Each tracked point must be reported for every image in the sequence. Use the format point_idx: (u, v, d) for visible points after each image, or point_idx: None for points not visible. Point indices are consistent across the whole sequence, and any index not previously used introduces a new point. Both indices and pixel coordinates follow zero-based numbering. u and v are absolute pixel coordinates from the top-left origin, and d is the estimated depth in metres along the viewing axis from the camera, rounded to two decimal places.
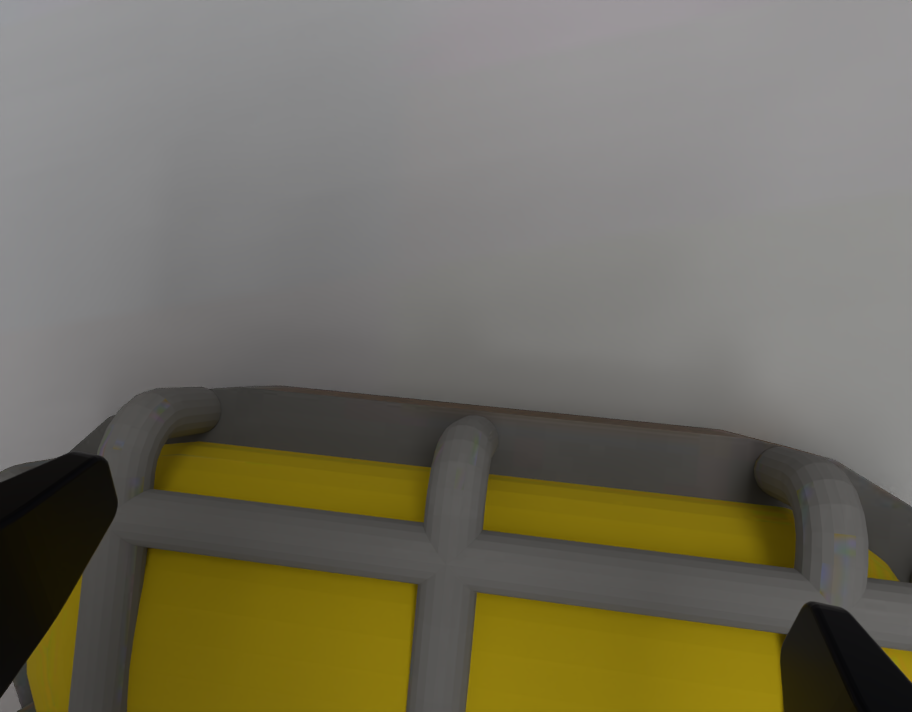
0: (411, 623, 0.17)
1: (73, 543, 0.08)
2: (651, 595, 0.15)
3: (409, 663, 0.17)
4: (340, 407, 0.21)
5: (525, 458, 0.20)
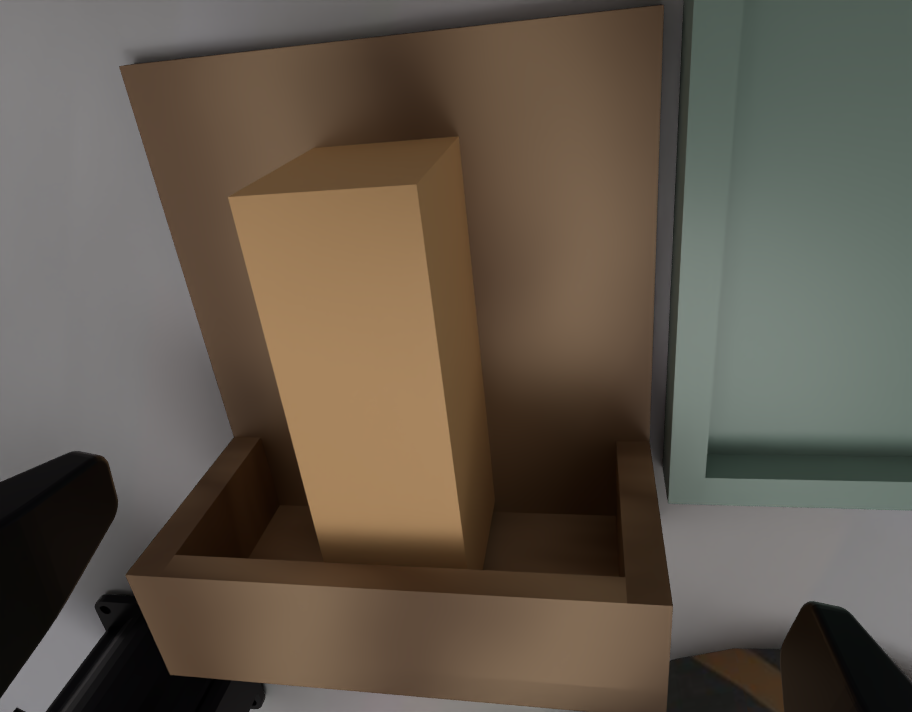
0: None
1: (73, 543, 0.08)
2: None
3: None
4: None
5: None
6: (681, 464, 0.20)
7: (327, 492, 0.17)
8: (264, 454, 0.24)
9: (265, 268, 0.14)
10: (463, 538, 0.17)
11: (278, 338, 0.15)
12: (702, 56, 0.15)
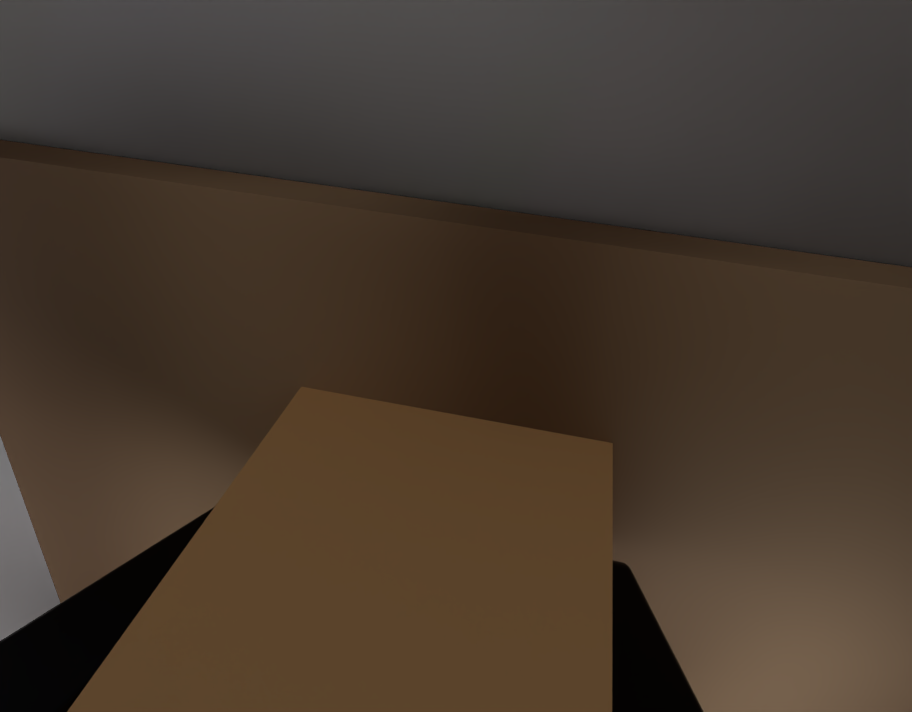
0: None
1: None
2: None
3: None
4: None
5: None
6: None
7: None
8: None
9: None
10: None
11: None
12: None
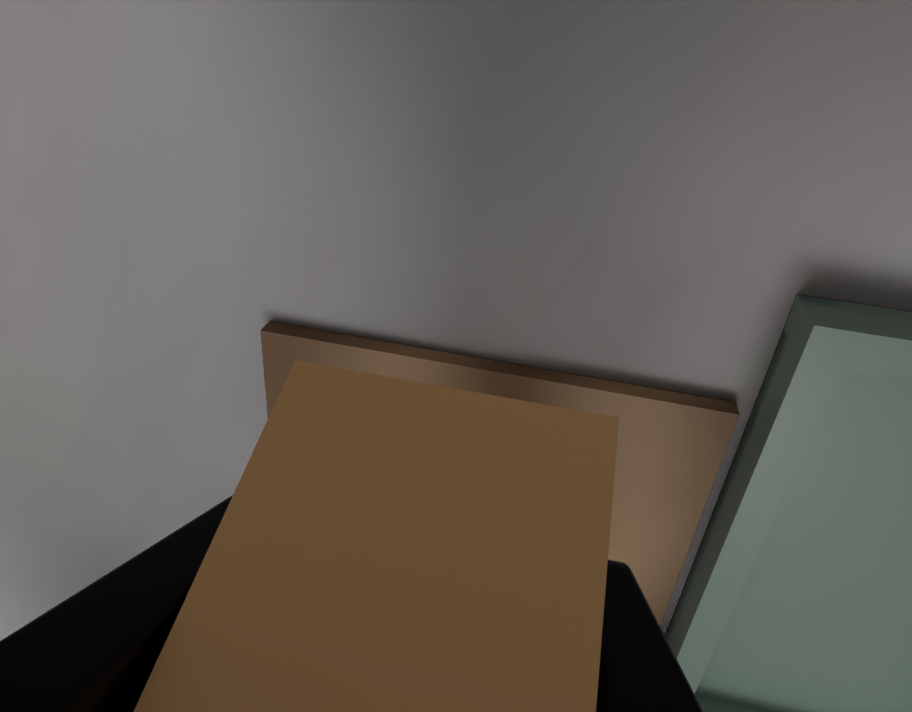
0: None
1: None
2: None
3: None
4: None
5: None
6: None
7: None
8: None
9: None
10: None
11: None
12: (762, 474, 0.18)
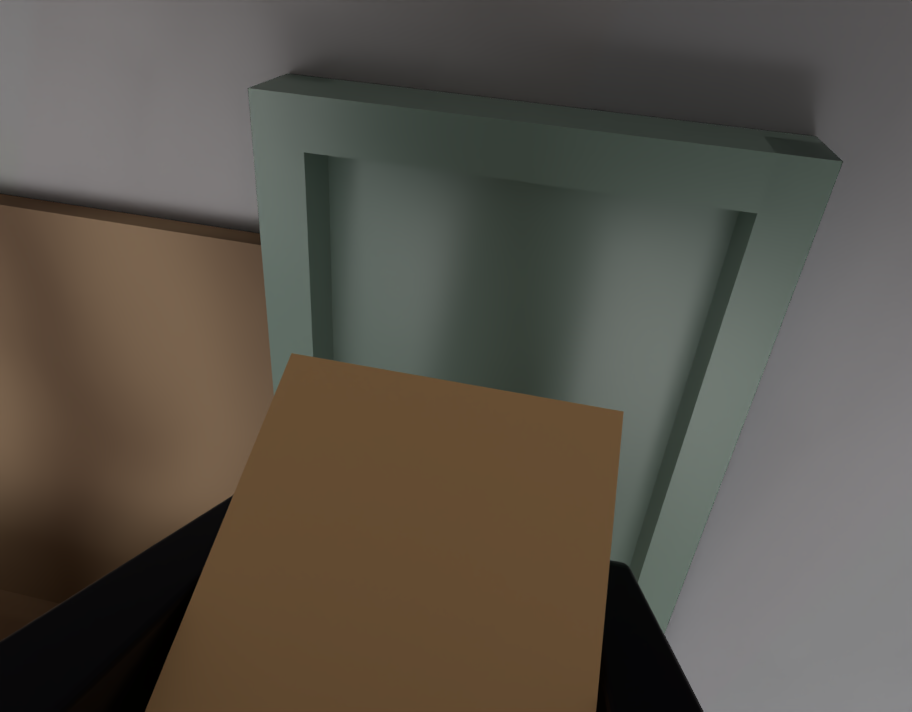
0: None
1: None
2: None
3: None
4: None
5: None
6: None
7: None
8: None
9: None
10: None
11: None
12: (277, 316, 0.14)
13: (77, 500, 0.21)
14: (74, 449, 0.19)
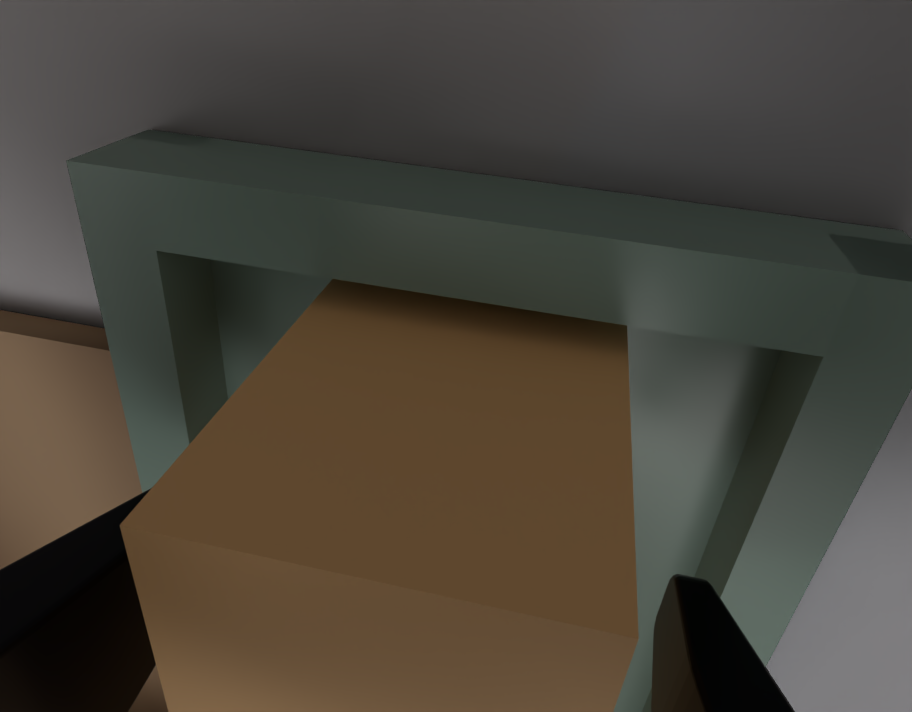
0: None
1: None
2: None
3: None
4: None
5: None
6: None
7: None
8: None
9: (197, 661, 0.06)
10: None
11: None
12: (147, 456, 0.10)
13: None
14: None
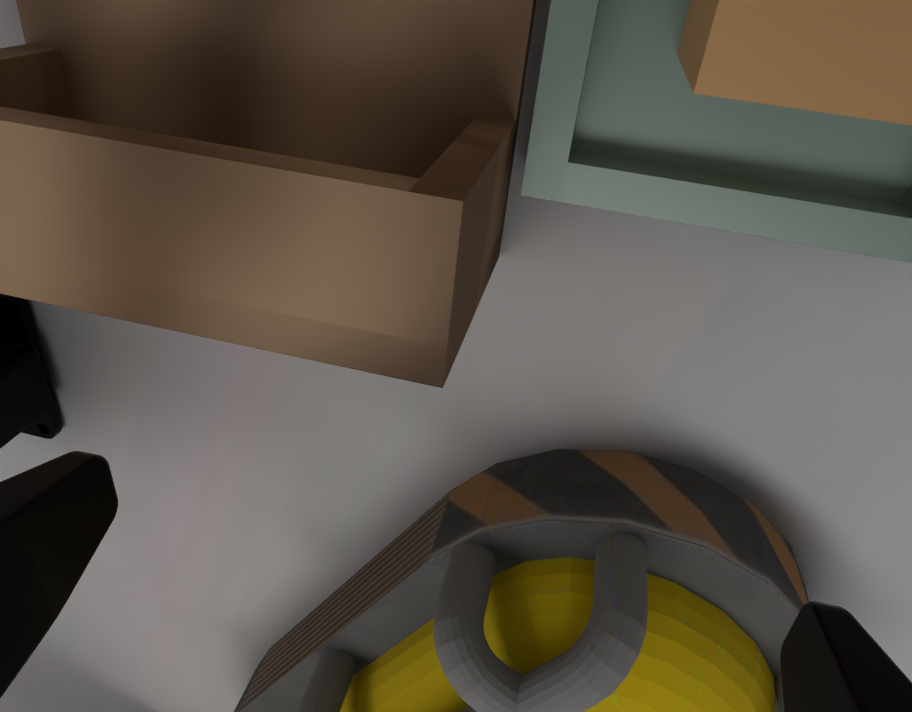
0: None
1: (73, 543, 0.08)
2: None
3: None
4: None
5: None
6: (542, 137, 0.16)
7: None
8: (61, 75, 0.19)
9: None
10: None
11: None
12: None
13: None
14: None
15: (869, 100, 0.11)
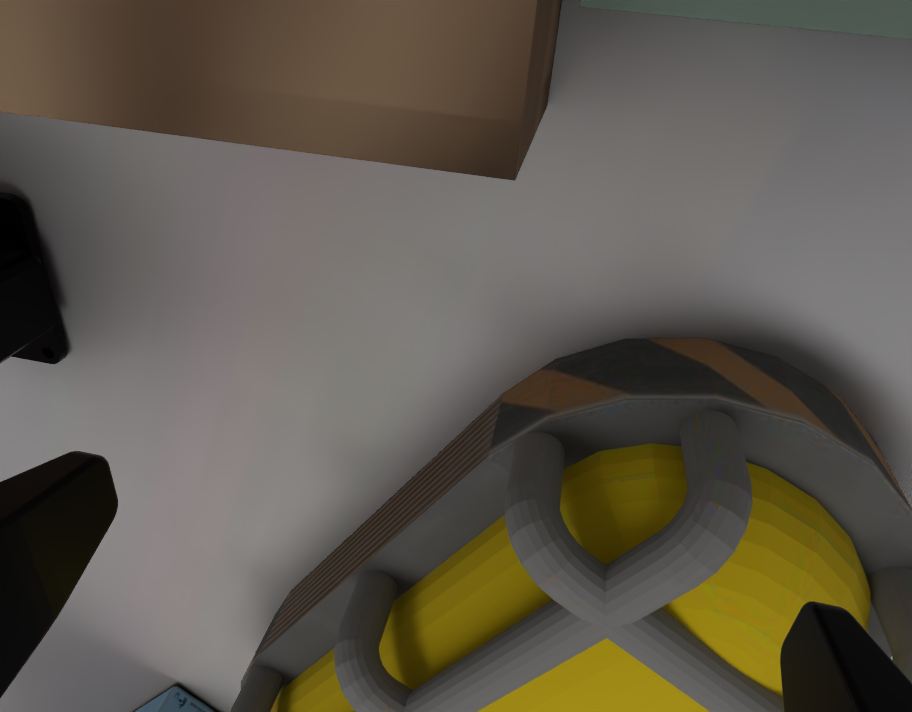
0: None
1: (73, 543, 0.08)
2: None
3: None
4: None
5: None
6: None
7: None
8: None
9: None
10: None
11: None
12: None
13: None
14: None
15: None
